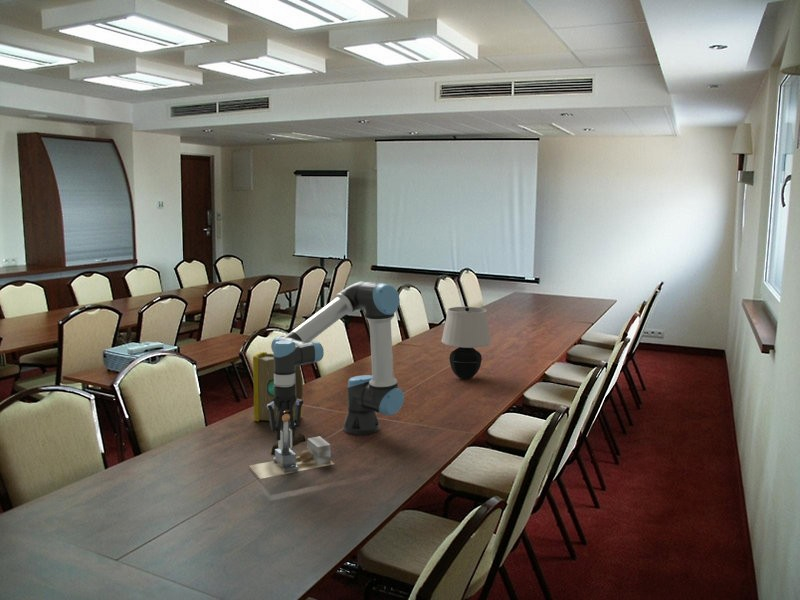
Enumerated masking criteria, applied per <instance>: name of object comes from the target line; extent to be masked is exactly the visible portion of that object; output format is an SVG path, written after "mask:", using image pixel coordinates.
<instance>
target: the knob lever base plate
mask: <svg viewBox="0 0 800 600" xmlns="http://www.w3.org/2000/svg"><path fill="white" fill-rule="evenodd" d="M306 439H307V442H306V443H307V444H306V445H307V446H306V447H307V449H306V450H307V451H309V452H310V453H311V454H312V458H311V460H310V461H307V462H302V461H301V460H300V455H299V456H296V465H297V466H298V470H296V471H291V472H286V473H285V472H284V471H283V468H285V467H282V466H281V465H280V464H279V463H278V462H274V461H273V460H272V461H266V462H261V463H260V462H259V463H256V464H251V465H249V467H250V468H249V469H248V470H249V472H250V473H251V474H252V475H253V476H254V477H255V478H256V480H257V481H258V482H259V483H260V484H261V483H262V482H261V480H262V479H266V478H272V477H277V476H283V475H287V474H292V473H298V472H302V471H307V470H312V469H316V468H322V467H327V466H332V465H335V462H333V460H331V458H332V456H331V444H330V443H329V442H328V441H327V440H325V439H324V438H322V436H320V435H319V436H314V437H308V438H306ZM292 466H295V465H292ZM287 467H290V466H287ZM252 471H253V472H252ZM254 473H255V474H254ZM259 479H260V480H259Z"/></svg>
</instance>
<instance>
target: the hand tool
mask: <svg viewBox="0 0 800 600" xmlns="http://www.w3.org/2000/svg"><path fill="white" fill-rule="evenodd" d="M305 442H306V436H305V435H304V434H303V433H298V434H296V436H295V437H294V438H292V447H293V446H295V445H297V444H299V443H305ZM275 449H278V442H277V443H275V444H274V445H272V448H271V453H270V455H275Z"/></svg>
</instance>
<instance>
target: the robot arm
mask: <svg viewBox="0 0 800 600" xmlns="http://www.w3.org/2000/svg"><path fill="white" fill-rule="evenodd" d="M400 302H401V299H400V294H399V291H398V290H397V289H396V288H395V287H394V286H393V285H391V284H387V283H384V282H377V281H376V282H375V281H370V280H360V281H357V282H355V283H352V284H350V285H349V286H347V287H345V288H343V289H342V290H341V291H339V292H338V293H336V294H335V296H334V299H332V300H331V301H330V302H329V303H327V304H326V305H325V306H323V307H322V308H321V309H319V310H318V311H317V312H316V313H314V314H313V315H311V316H310V317H309V318H307V319H306V320H305V321H303V322H302V323H301V324H300V325H298V326H297V327H296V328H294V329H293V330H291V331H289V333H287V334H286V335H279V336H275V337H274V338H273V339H272V341H271V347H270V348H271V351H272V354H273V358H274V384H275V385H274V399H273V402H271V403H270V404H266V406H267V408H268V412H269V421H268V422H269V428H270V430H271V431H272V432H275V439H276V441H277V443H278V448H280V449H281V450H283V432H282V431H281V424H282V416H283V413H284V410H287V412H289V414H290V420H289V448H290V449H292V448H293V446H292V438H294V437H295V435H296V434H295V432H296V429H297V428H300V425H301V418H300V416H301V412H302V407H303V404H304V400H303V399H302V400H301V399H297V398H296V396H295V366H299V365H300V366H302V365H309V364H315V363H317V362H320V361H322V360H323V359H324V355H325V354H324V353H325V352H324V351H325V350H324V346H323V345H322V344H321V342H320V341H313V340H314V339H316V338H317V337H318V336H319V335H320V334H322V333H323V332H325V330H327V329H328V328H330V327H331V326H333V325H334V324H335V323H336V322H338V321H339V320H340V319H342V318H343V317H344V316H346V315H351V314H352V313H353V312H355V311H358V310H362V311H364V317H365V319H366V320H367V321H368V322H369V336H370V337H369V339H370V354H371V356H370V359H371V373H372V374H370V375H369V374H367V375H366V374H365V375H356V376H351V377H350V378H349V379H348V381H347V387H346V388H347V412H346V416H345V419H344V422H343V431H344V433H346V434H347V433H348V434H351V435H355V436H366V435H373V434H375V433H378V431H379V430H380V423H379V418H378V417H377V413H378V414H380V415H385V416H393V415H395V414H397V413H398V412H399V411H400V409H401V408H402V407H403V405H404V401H405V394H404V391H402V389H401V388H399V385H398V379H397V378H396V377H394V362H393V361H394V358H393V338H392V319H394V318H395V313H396V312H397V311H398V308H399V307H400ZM295 402H296V408H295V418H293V409H292V407H293V405H294V404H295ZM274 405H275V406H276V407H277V419H276V422H275V417H274V410H273V409H274Z"/></svg>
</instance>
